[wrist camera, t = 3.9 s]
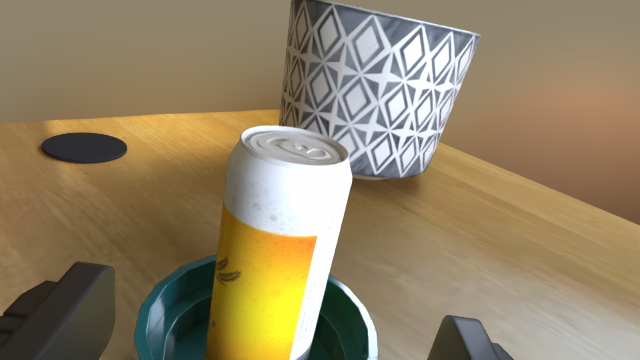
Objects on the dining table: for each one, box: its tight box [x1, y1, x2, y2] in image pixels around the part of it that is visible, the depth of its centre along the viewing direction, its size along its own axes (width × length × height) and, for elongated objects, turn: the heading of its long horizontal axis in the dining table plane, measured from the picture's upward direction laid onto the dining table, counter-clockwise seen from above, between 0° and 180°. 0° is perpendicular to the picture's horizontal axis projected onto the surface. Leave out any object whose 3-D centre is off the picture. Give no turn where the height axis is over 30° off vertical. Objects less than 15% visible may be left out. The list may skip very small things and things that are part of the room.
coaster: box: [42, 133, 127, 163], centre depth 51 cm, size 9×9×1 cm
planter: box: [279, 0, 481, 180], centre depth 62 cm, size 26×26×22 cm
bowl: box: [133, 255, 378, 360], centre depth 25 cm, size 14×14×4 cm
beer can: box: [205, 126, 352, 360], centre depth 23 cm, size 6×6×15 cm
